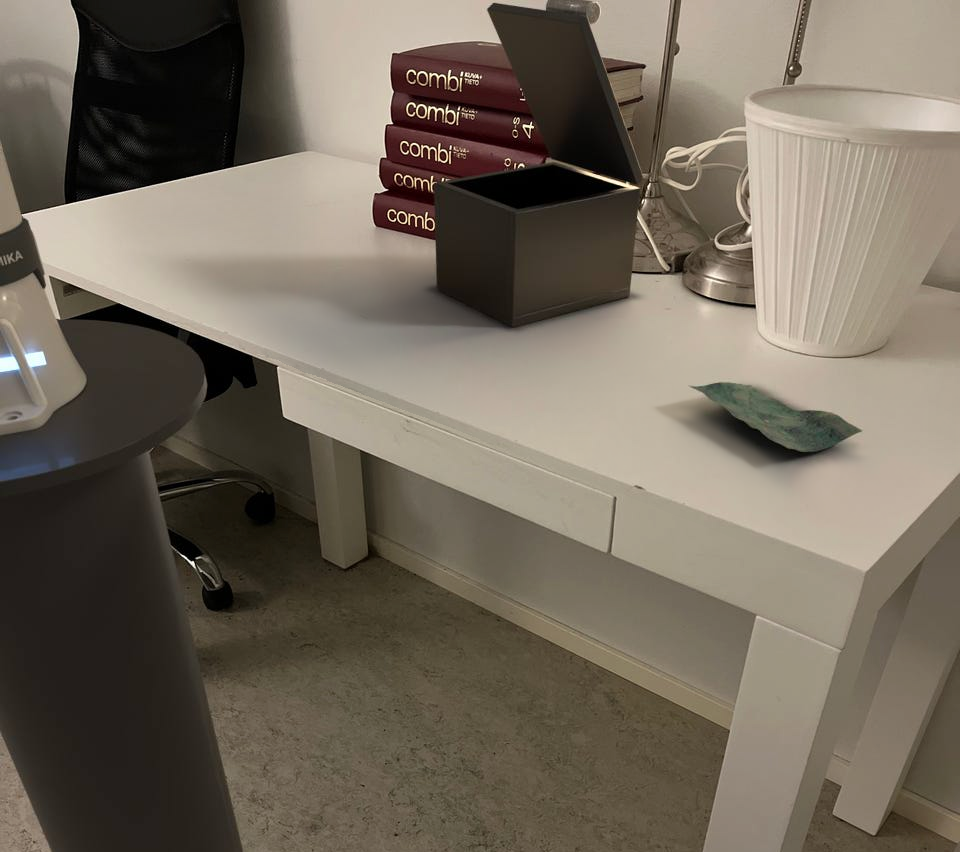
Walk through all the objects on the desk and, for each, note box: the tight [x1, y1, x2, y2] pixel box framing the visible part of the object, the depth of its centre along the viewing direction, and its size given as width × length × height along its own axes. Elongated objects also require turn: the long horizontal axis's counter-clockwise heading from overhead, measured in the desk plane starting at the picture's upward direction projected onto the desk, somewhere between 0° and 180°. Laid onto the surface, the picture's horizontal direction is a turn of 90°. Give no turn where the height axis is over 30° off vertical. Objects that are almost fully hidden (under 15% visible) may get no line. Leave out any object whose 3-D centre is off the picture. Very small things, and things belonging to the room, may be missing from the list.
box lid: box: [486, 0, 645, 186], centre depth 96 cm, size 17×14×5 cm
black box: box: [433, 161, 641, 328], centre depth 102 cm, size 16×14×11 cm
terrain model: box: [688, 381, 863, 453], centre depth 80 cm, size 13×8×2 cm, turn 29°
